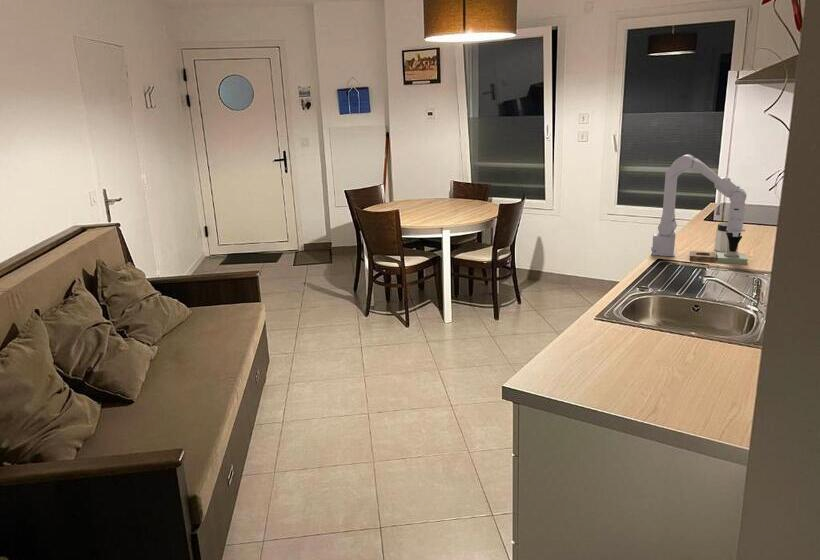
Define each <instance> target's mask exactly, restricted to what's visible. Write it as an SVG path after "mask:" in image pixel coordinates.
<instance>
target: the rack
mask: <svg viewBox="0 0 820 560" xmlns="http://www.w3.org/2000/svg"><path fill="white" fill-rule="evenodd" d="M725 253H726V252H718V251H715V254H716V262H717V263H722V264H736V265H737V264H739V265H740V264H741V265H747V264H748V257H747V256H746V253H740V252H739V253H738V252H737V257H725Z"/></svg>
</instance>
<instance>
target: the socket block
mask: <svg viewBox="0 0 820 560" xmlns="http://www.w3.org/2000/svg"><path fill="white" fill-rule="evenodd" d="M689 255H690V256H689V261H691V260H692V261H695V262H708V263H709V262H710V263H711V262H712V263H716V262H717V259H716V251H715V252H714V251H699V250H689Z"/></svg>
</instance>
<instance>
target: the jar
mask: <svg viewBox="0 0 820 560" xmlns="http://www.w3.org/2000/svg"><path fill="white" fill-rule="evenodd" d="M727 224H728V222H719V223H718V224H717V229H716V230H715V240H714V247H713V248H714V249H713V250H714V251H715V252H724V253H726V244H727V239H728V237H727V234H726V232H728V231H726V229H727Z"/></svg>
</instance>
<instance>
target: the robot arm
mask: <svg viewBox="0 0 820 560" xmlns="http://www.w3.org/2000/svg"><path fill="white" fill-rule="evenodd" d="M690 169H691V170H690ZM688 170H690V171H691V172H698V173H700V174H701V175H702V176H704V177H706V179H708V180H709V181H711V182H712V183H713V184H714V189H716V190H717V191H718V192H720V193H721V194H722V195H724V196H725V197H726V198H728V199H729V201H730V203H729V205H730V206H729V208H728V214H727V215H728V217H727V223H728V224H727V229H726V231H728V232H726V234H727V237H728V240H729V250H730V252H736V249H737V246H739V243H740V241H741V240H742V238H743V235H742V232H746V229H745V228H743V226H744V219H745V218H744V217H745V209H746V208H745V207H746V202H745V201H746V199H747V193H746V191H745V189H742V188H741V186H740V185H736V184H735V183H734V182H732V181H731V180H732V179H731V178H730V177H726V176H721V177H720V175H718V174H717V173H716V172H715V171H713V170H712V169H711V168H710V167H709V166H708V165H706V164H705V163H704V162H703V161H702V160H700V159H699V158H697V157H695V156H694V155H692V154H689V153H688V154H684V155H682V156H679V157H678V158H676V159H675V160H674V161H673V163H671V165H670V166H669V167H668V169H667V170H666V172H665V177H664V189H663V190H664V191H663V192H664V193H663V204H662V215H661V218H660V222H659V224H658V227H657V230H658V232H657V234H652V244H651V245H652V246H651V249H650V250H651V256H658V255H659V257H661V256H662V257H663V256H664V257H676V256H675V255H676V254H675V253H676V252H675V246H676V245H675V244H676V232H675V230H676V229H677V222H676V214H675V213H676V199H677V189H678V188H677V186H678V177H679V176H681V175H682V174H683V173H685V172H687V171H688Z"/></svg>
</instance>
